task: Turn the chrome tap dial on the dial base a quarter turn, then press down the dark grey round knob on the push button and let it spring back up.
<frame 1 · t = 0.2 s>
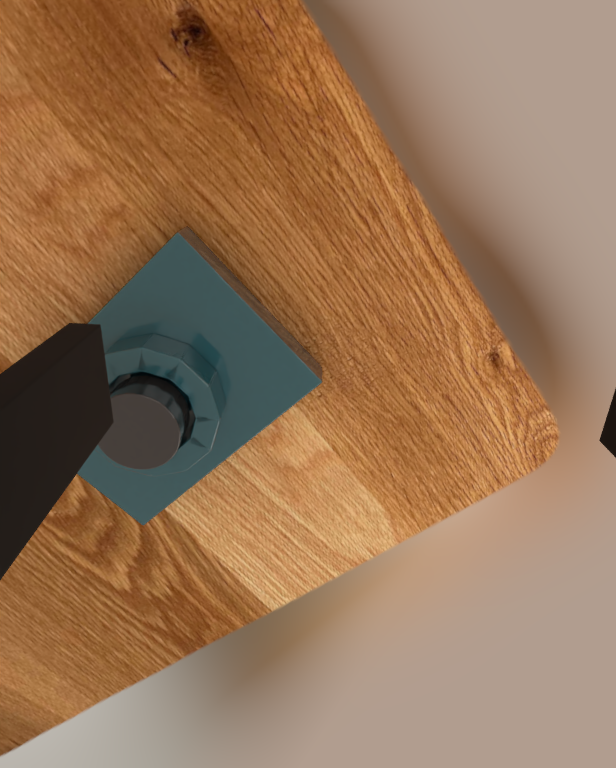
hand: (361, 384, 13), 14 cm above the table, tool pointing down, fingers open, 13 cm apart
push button: (167, 382, 29), on the table
dark grey round knob: (143, 422, 25), point 5 cm above the table, slide at 0.1 cm
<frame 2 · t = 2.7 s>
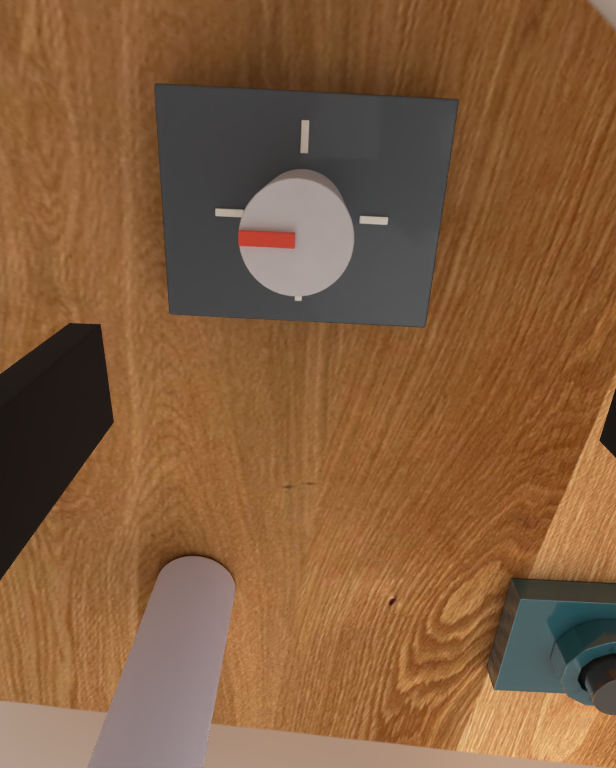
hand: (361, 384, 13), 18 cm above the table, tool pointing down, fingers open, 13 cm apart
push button: (585, 629, 42), on the table
dark grey round knob: (615, 683, 38), point 5 cm above the table, slide at 0.1 cm
spray bottle: (198, 580, 41), on the table
dial base: (303, 209, 29), on the table
tap dial: (299, 227, 23), point 7 cm above the table, hinge at 0.0°
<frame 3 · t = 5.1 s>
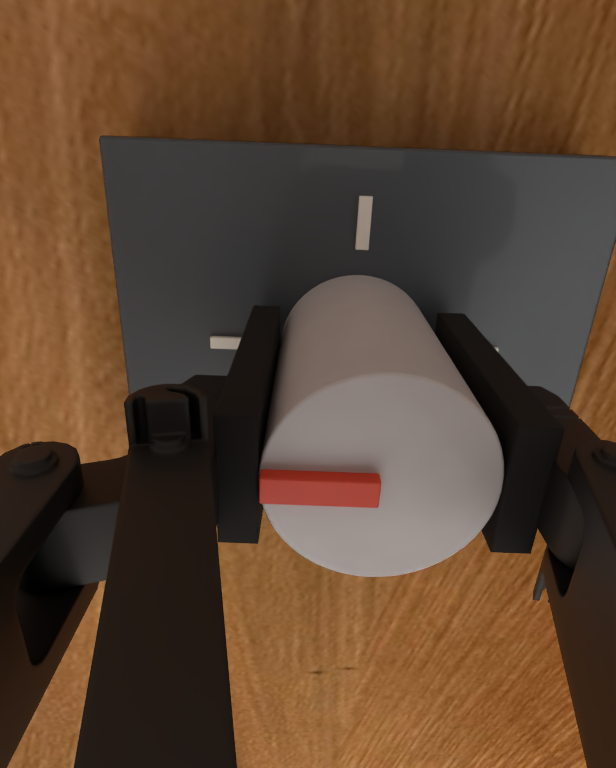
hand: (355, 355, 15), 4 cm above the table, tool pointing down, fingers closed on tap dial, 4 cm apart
dial base: (348, 316, 19), on the table
tap dial: (364, 401, 12), point 7 cm above the table, hinge at 0.0°, touching gripper
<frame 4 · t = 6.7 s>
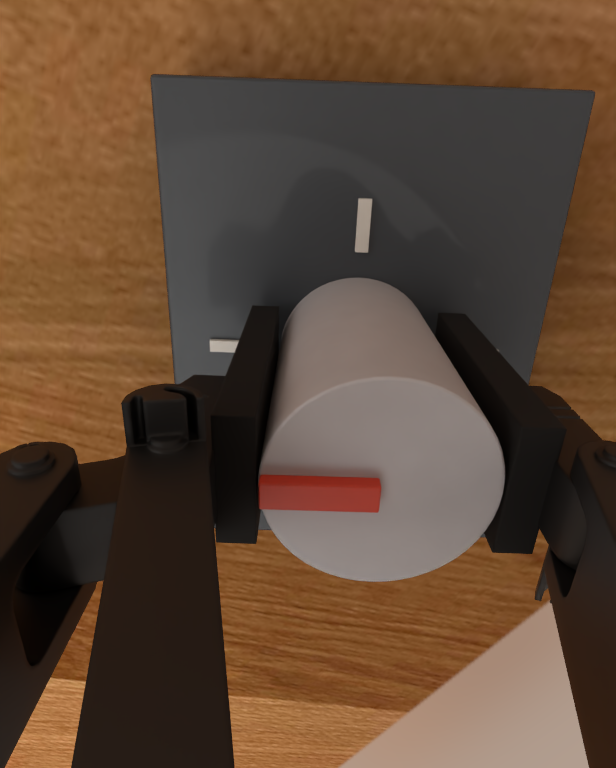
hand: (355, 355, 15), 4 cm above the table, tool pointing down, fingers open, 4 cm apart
dial base: (347, 319, 18), on the table
tap dial: (364, 405, 12), point 7 cm above the table, hinge at 90.3°
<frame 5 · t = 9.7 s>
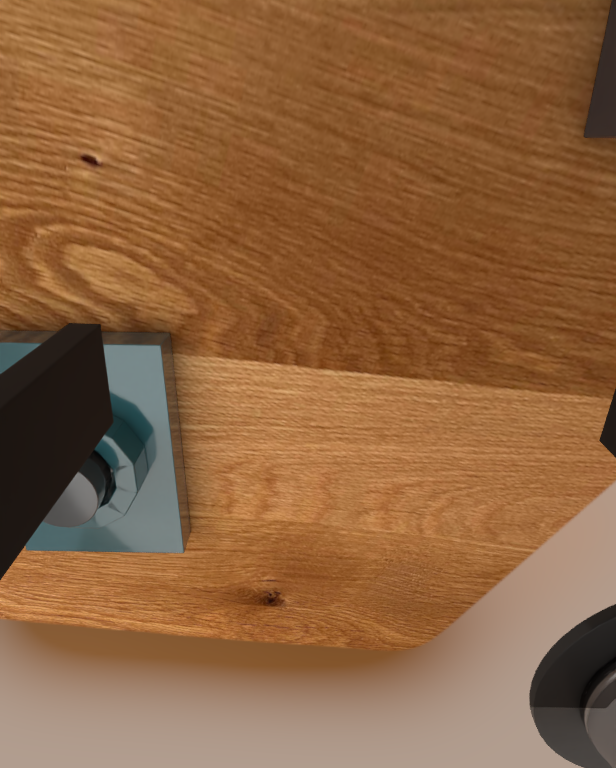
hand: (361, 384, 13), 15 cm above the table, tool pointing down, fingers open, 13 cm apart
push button: (99, 440, 32), on the table
dark grey round knob: (67, 484, 28), point 5 cm above the table, slide at 0.1 cm
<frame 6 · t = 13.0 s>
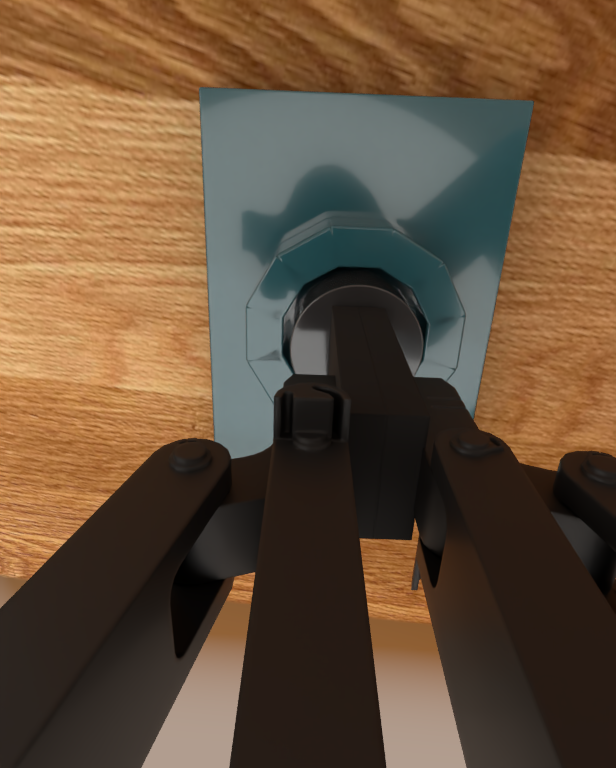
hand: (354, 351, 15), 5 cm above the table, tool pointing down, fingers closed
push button: (347, 304, 20), on the table
dark grey round knob: (354, 339, 17), point 4 cm above the table, slide at -0.5 cm, touching gripper
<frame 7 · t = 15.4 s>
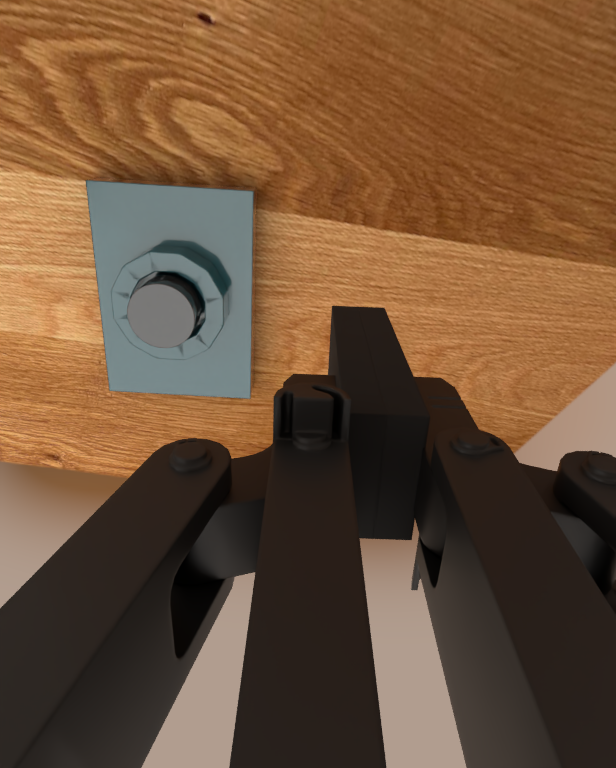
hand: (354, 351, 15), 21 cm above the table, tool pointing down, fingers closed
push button: (182, 291, 36), on the table
dark grey round knob: (165, 311, 32), point 5 cm above the table, slide at 0.1 cm
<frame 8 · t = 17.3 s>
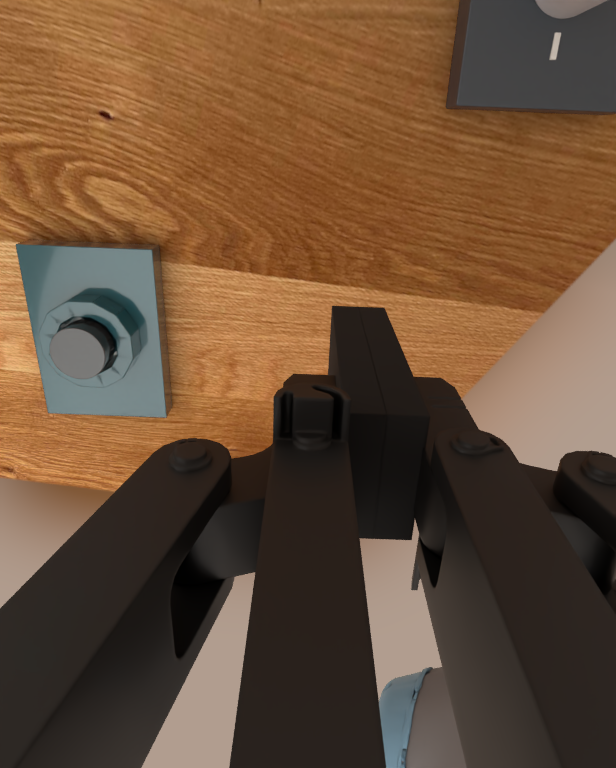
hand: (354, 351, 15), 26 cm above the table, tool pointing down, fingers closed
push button: (105, 329, 43), on the table
dark grey round knob: (82, 349, 39), point 5 cm above the table, slide at 0.1 cm
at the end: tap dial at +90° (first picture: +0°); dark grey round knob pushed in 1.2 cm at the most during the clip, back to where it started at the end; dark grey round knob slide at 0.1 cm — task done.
